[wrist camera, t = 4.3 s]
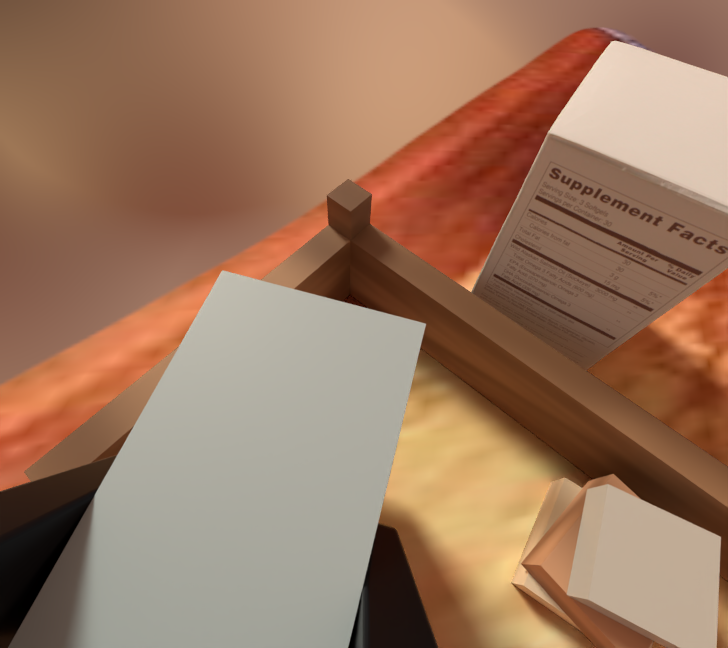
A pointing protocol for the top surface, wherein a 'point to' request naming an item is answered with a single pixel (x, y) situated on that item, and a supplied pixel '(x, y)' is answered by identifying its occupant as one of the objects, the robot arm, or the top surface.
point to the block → (242, 483)
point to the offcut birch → (550, 510)
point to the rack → (464, 373)
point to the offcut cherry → (554, 569)
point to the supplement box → (617, 207)
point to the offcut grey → (647, 569)
